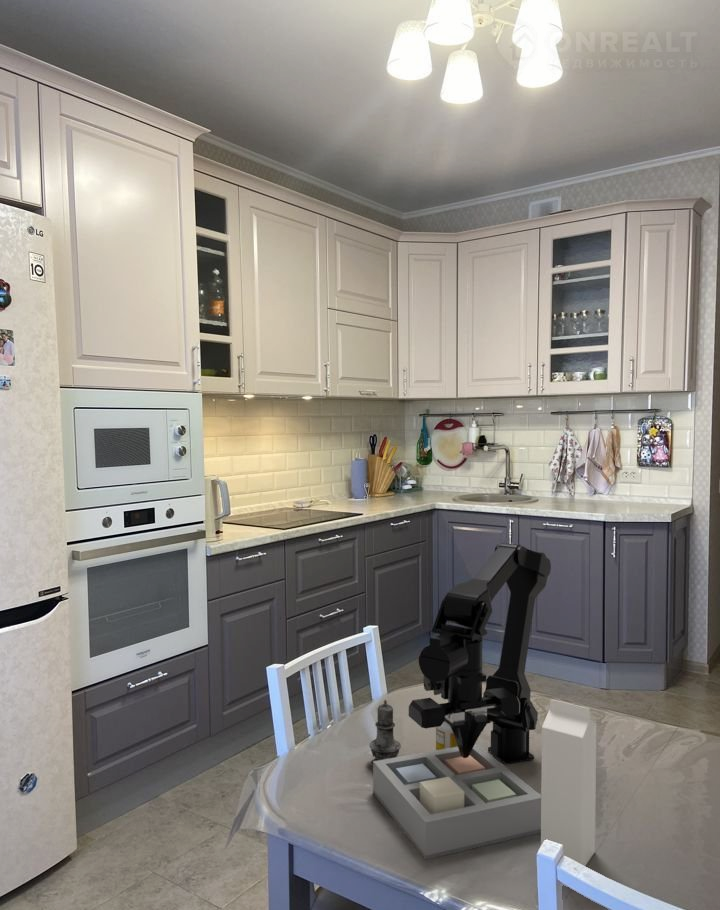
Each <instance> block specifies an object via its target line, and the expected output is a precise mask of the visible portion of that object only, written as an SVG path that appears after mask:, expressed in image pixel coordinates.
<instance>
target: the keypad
mask: <svg viewBox="0 0 720 910" xmlns="http://www.w3.org/2000/svg"><path fill="white" fill-rule="evenodd" d="M469 755H470V756H472V757H473V758H474V759H475V760H476V761H478V762H479V763H480V764H481V765H482V766H483V767H485V770H481V771H476V772H470V773H465V774H460V775H455V774H454V773H453V772H452V771H451V770H450V769H449V768H448V767H446V766H445V760H446V759H452V758H457V757H462V756H461V754H460V752H459V749H458V747H453V748H447V749H441V750H436V749H435V750H430V751H424V752H420V753H415V754H408V755H403V756H402V755H401V756H397V757H395V758H389V759H384V760H378V761H373V767H372V774H373V775H372V780H373V781H372V793H373V794H374V796H375V797H376V799H377V800H378V801H379V802H380V804H381V805H382V807H384V809H385V810H386V812H387V813H388V814H389V815H390V816H391V818H392V819H393V820H394V822H395V823H396V824H397V825H398V827H399V828H400V830H402V832H403V833H404V835H405V836H406V837H407V838H408V839H409V840H410V841H409V842H410V843H412V845H413V846H414V848H416V850H417V851H418V852H419V854H420V855H421V856H422V857H423V859H424V860H425V861H427V860H430V859H434V858H439V857H442V856H447V855H452V854H455V853H459V852H460V851H461V852H464V850H465V851H469V850H472V848H474V849H477V848H476V847H478V848H481V847H485V846H484V845H486V846H489V845H488V844H491V845H494V844H493V843H495V844H498V842H499V843H503V842H508V841H511V840H510V839H512V840H515V839H514V838H516V839H519V837H520V838H524V837H523V836H525V837H528V836H533V835H537V834H541V793H539V792H537V791H536V789H535V790H534V788H532V787H531V786H530V785H529V784H527V783H526V782H525V781H524V780H522V779H521V778H520V777H519V776H517V774H515V773H514V772H512V771H511V770H510V769H508V768H507V767H506V766H505V765H504V764H503V763H501V762H500V761H499V760H497V759H496V758H495V756H494V757H493V755H492V754H490V753H488V752H487V751H486V750H485V749H484V748H483V747H481V745H479V744H477V743H475V745H474V747H473V749H472V751H471V753H470V754H469ZM418 764H424V765H425V766H426V767H427V768H428V769H429V770H430V771H431V772H432V773H433V774H434V775H435V776H436V779H439V778H444V777H449V778H450V779H452V780H453V781H454V782H455V783H456V784H457V785H458V786H459V787H460V788H461V789H462V790H463V791H464V808H460V809H455V810H450V811H445V812H441V813H436V814H430V813H429V812H428V811H427V810H426V809H425V808H424V806H423V805H422V804H421V803H420V782H418V783H412V784H407V785H404V784H403V783H402V782H401V781H400V779H399V778H398V777H397V776H396V768H401V767H407V766H412V765H418ZM498 779H499V780H500V781H501V782H502V783H504V784H505V785H506V786H507V787H508V788H510V789H511V790H512V791H513V792H514V793H516V797H512V798H507V799H503V800H498V801H493V802H488V803H485V802H484V801H483V800H482V799H481V798H480V797H479V796H477V795H476V794H475V793H474V792H473V791H472V785H473V784H478V783H483V782H488V781H493V780H498ZM433 780H434V779H433ZM507 840H508V841H507ZM502 841H503V842H502ZM480 846H481V847H480ZM468 849H469V850H468Z"/></svg>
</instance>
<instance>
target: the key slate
mask: <svg viewBox="0 0 720 910" xmlns="http://www.w3.org/2000/svg"><path fill="white" fill-rule="evenodd" d="M396 776H397V777H398V778H399V779H400V781H401V782H402V783H403V784H404V785H407V784H412V783H418V782H423V781H428V780H433V779H436V776H435V775H434V774H433V773H432V772H431V771H430V770H429V769H428V768H427V767H426V766H425V765H424V764H418V765H412V766H407V767H401V768H396Z"/></svg>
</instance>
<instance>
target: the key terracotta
mask: <svg viewBox="0 0 720 910" xmlns="http://www.w3.org/2000/svg"><path fill="white" fill-rule="evenodd" d="M445 766H446V767H448V768H449V769H450V770H451V771H452V772H453V773H454V774H455V775H460V774H465V773H470V772H476V771H481V770H485V767H483V766H482V765H481V764H480V763H479V762H478V761H476V760H475V759H474V758H473V757H472V756H470V755H469V756H468V758H463V757H457V758H452V759H446V760H445Z"/></svg>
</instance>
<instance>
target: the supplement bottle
mask: <svg viewBox="0 0 720 910" xmlns="http://www.w3.org/2000/svg"><path fill="white" fill-rule="evenodd" d="M453 747H458V746H457V743H456V740H455V736H454V734H453V731H452V729H451V727H450V725H449V724H447V723H446V722H445V721H444V722H443V724H442V725H441V726H439V727H435V751H436V750H441V749H447V748H453Z"/></svg>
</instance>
